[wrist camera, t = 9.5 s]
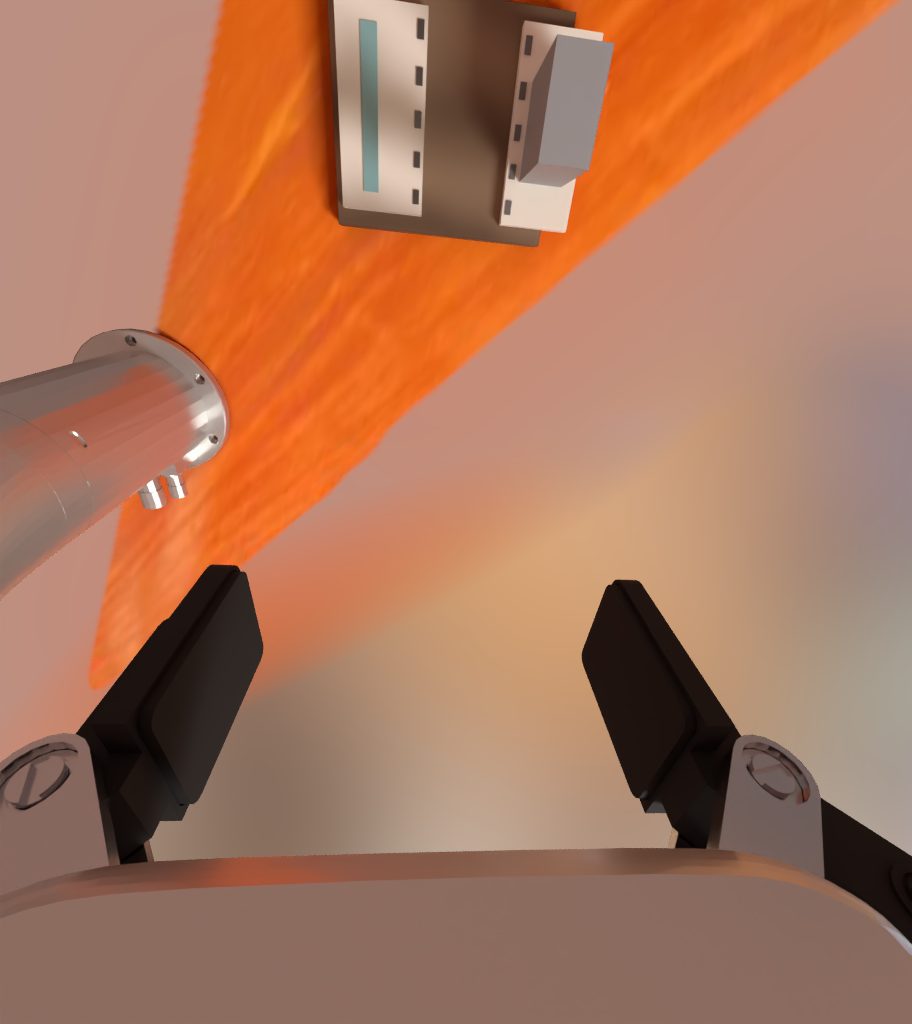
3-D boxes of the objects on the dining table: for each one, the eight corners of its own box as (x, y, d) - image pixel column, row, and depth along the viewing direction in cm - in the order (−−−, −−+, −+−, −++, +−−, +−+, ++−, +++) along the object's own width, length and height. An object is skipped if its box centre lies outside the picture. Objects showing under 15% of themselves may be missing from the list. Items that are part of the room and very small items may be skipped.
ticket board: (534, 247, 32) (540, 245, 30) (343, 225, 31) (336, 222, 29) (569, 25, 26) (581, 3, 24) (331, -14, 24) (322, -40, 22)
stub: (562, 232, 30) (593, 224, 24) (498, 225, 30) (514, 215, 24) (598, 39, 25) (648, -30, 19) (522, 27, 25) (549, -48, 19)
